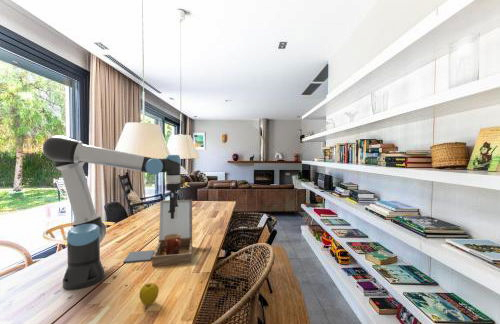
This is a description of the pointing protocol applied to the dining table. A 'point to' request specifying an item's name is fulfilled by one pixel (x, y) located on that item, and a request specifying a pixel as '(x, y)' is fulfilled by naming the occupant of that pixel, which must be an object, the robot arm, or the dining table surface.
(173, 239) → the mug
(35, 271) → the dining table surface
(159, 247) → the shallow wooden tray
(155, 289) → the apple
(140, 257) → the slate mat
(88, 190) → the robot arm
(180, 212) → the lid
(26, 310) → the dining table surface
